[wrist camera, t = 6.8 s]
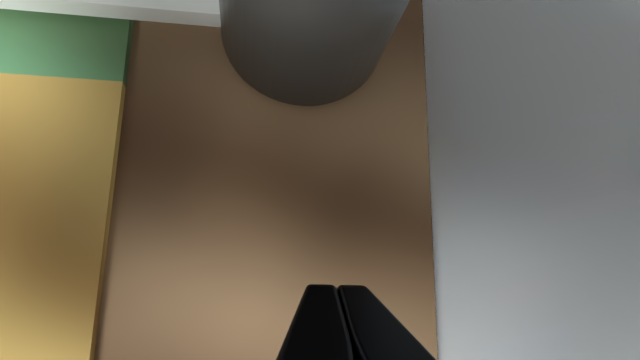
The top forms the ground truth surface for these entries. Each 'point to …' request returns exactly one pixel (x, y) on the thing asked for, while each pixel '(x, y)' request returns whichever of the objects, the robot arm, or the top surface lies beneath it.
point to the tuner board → (197, 193)
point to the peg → (270, 37)
